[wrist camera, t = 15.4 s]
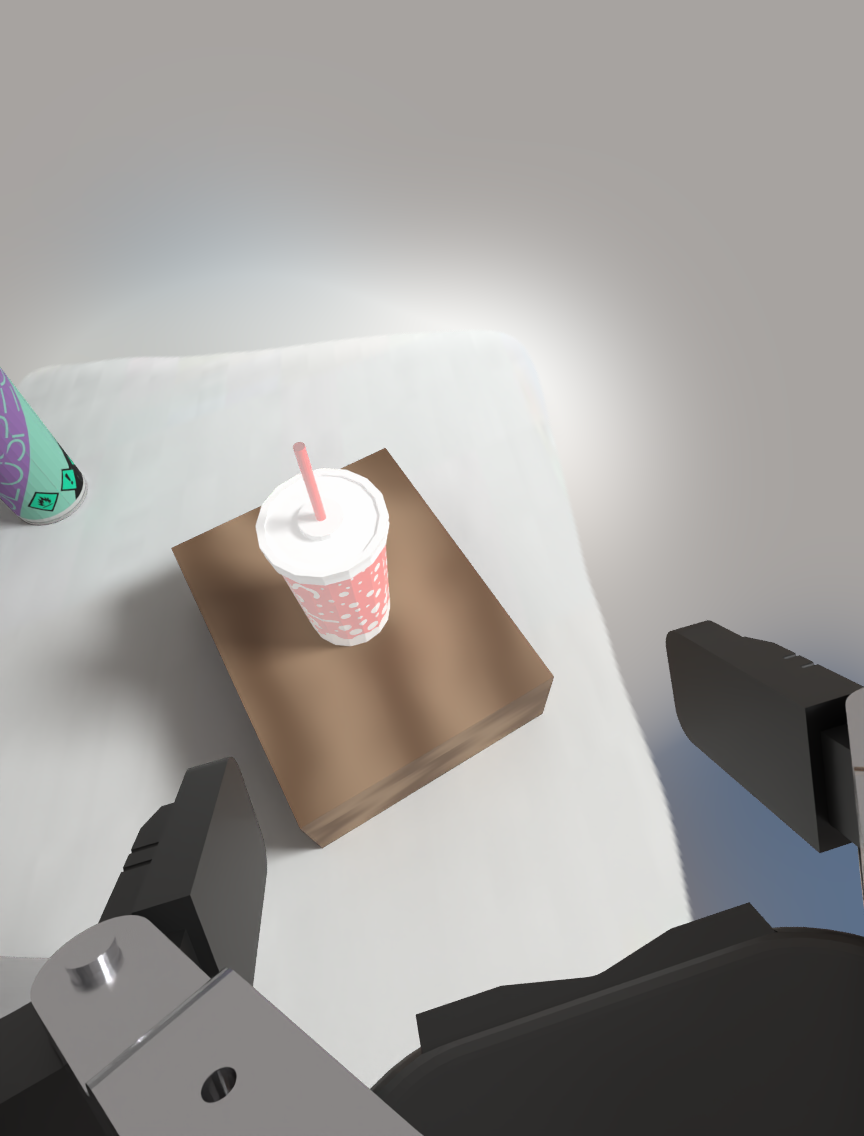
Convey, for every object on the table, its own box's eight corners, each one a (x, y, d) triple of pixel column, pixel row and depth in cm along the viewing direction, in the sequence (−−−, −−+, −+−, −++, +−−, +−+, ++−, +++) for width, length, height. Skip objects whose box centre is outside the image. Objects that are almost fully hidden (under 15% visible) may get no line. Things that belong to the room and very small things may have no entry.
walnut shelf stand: (322, 848, 38) (299, 828, 32) (203, 595, 46) (171, 548, 41) (542, 713, 41) (554, 676, 36) (393, 501, 50) (385, 447, 45)
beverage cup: (281, 591, 39) (201, 424, 27) (375, 548, 41) (339, 371, 29) (321, 677, 36) (251, 534, 24) (421, 629, 38) (402, 470, 26)
